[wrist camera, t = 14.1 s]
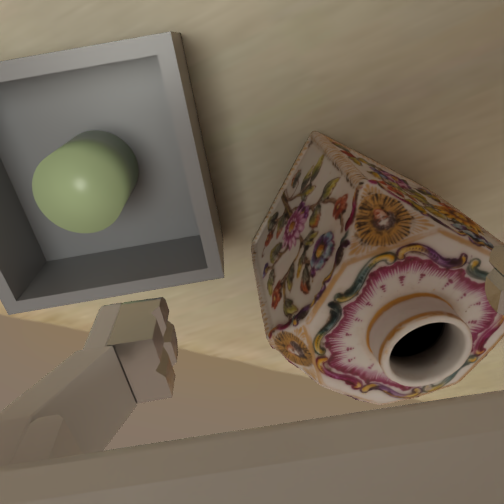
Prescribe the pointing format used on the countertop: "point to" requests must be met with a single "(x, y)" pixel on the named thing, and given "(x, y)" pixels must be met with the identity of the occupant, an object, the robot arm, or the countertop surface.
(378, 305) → the decorative jar
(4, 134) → the grey bin
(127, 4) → the countertop surface
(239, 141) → the countertop surface
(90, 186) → the egg-shaped green gourd
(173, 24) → the countertop surface
